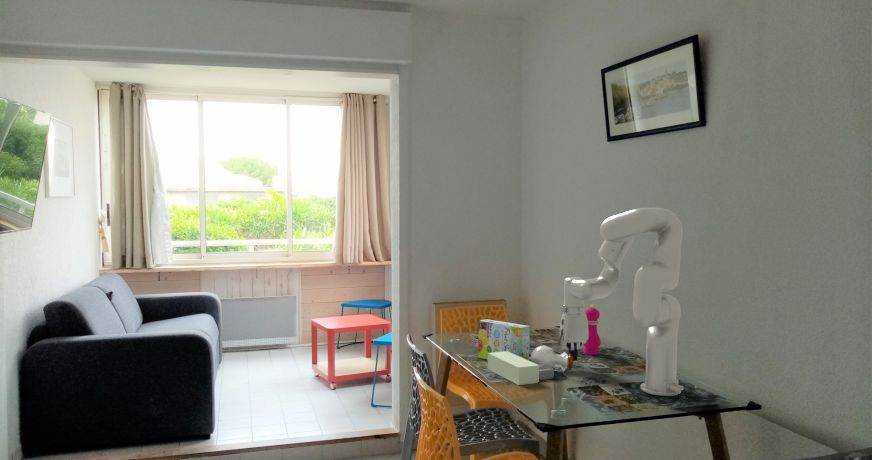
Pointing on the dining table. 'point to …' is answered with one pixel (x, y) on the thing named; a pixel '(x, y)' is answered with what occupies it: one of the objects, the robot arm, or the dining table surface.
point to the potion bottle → (551, 358)
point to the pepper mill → (592, 332)
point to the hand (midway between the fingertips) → (573, 359)
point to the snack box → (503, 338)
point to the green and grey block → (517, 368)
